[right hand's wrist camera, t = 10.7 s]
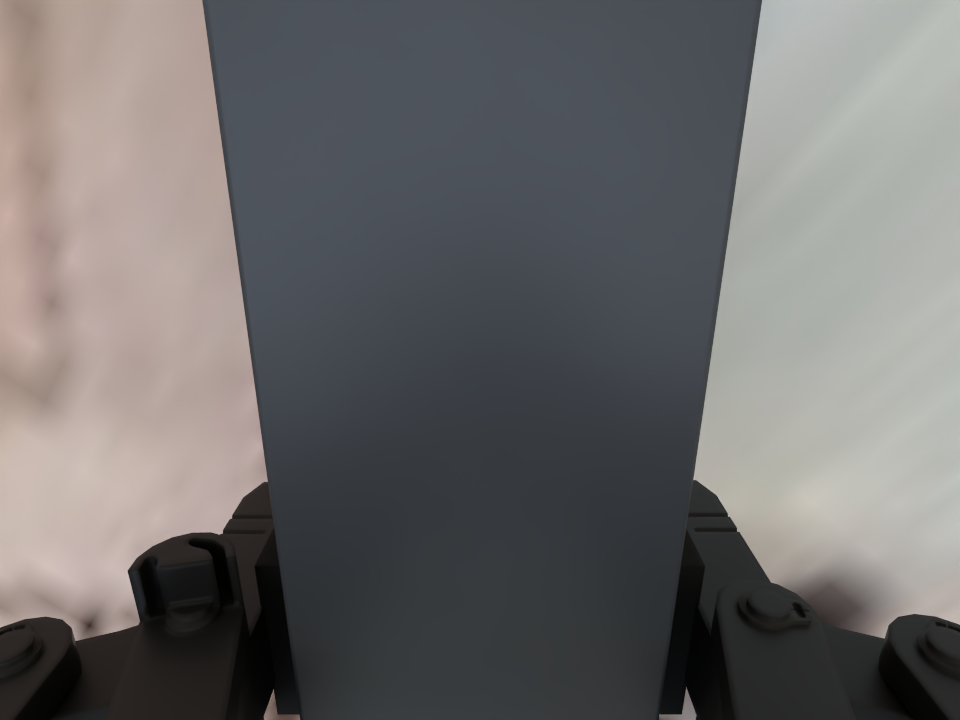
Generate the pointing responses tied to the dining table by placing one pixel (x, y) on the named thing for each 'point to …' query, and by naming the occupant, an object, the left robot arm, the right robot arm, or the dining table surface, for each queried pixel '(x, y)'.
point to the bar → (480, 333)
